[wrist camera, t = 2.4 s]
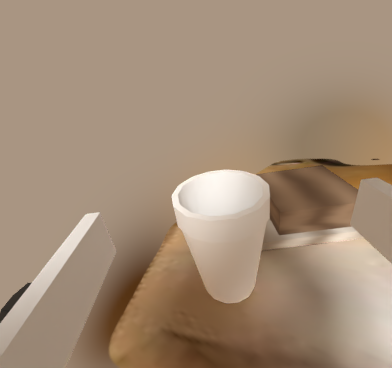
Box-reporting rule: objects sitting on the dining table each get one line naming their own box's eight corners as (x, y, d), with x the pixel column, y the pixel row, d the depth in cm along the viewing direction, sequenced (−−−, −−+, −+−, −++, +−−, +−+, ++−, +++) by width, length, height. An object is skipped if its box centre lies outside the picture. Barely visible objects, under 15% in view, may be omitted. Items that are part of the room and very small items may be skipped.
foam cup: (202, 248, 32) (188, 170, 26) (266, 253, 29) (267, 168, 23) (183, 310, 24) (156, 218, 18) (269, 326, 21) (271, 224, 15)
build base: (331, 186, 41) (335, 161, 38) (391, 235, 29) (404, 201, 26) (239, 199, 42) (238, 174, 39) (259, 250, 30) (259, 219, 27)
